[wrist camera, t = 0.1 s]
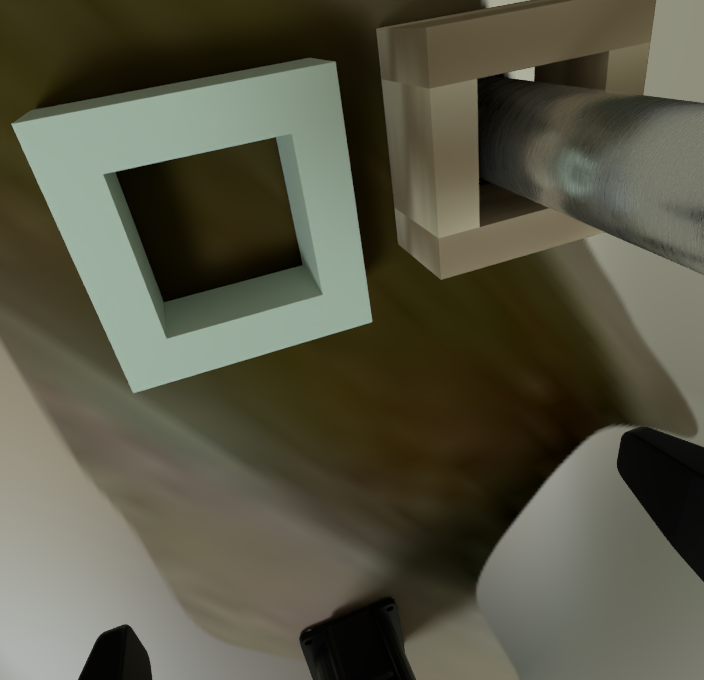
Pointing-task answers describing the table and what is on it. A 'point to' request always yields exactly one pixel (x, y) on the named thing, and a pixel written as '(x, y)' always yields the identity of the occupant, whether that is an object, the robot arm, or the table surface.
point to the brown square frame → (462, 118)
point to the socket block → (189, 139)
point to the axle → (600, 160)
